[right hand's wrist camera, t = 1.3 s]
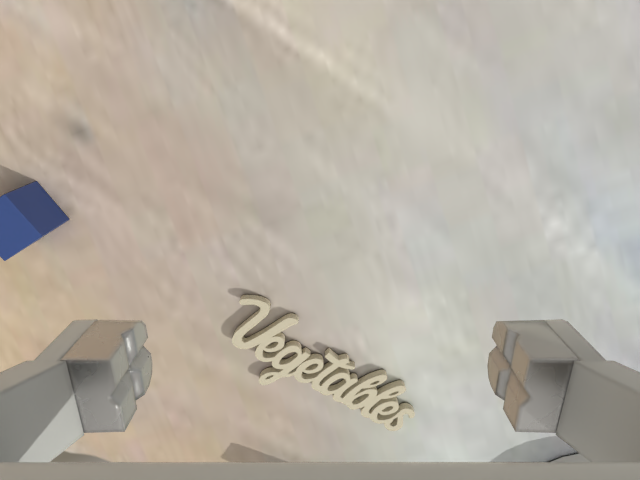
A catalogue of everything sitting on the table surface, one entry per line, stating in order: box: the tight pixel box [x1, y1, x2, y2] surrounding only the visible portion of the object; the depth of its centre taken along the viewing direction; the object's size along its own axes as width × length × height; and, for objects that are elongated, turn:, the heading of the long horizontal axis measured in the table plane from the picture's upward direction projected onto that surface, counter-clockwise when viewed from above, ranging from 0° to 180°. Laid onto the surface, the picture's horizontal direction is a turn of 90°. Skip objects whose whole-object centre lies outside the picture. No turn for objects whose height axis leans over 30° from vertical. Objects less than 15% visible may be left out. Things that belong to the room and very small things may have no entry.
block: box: [0, 181, 69, 261], centre depth 44 cm, size 5×5×5 cm
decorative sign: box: [232, 295, 415, 431], centre depth 53 cm, size 26×1×10 cm
